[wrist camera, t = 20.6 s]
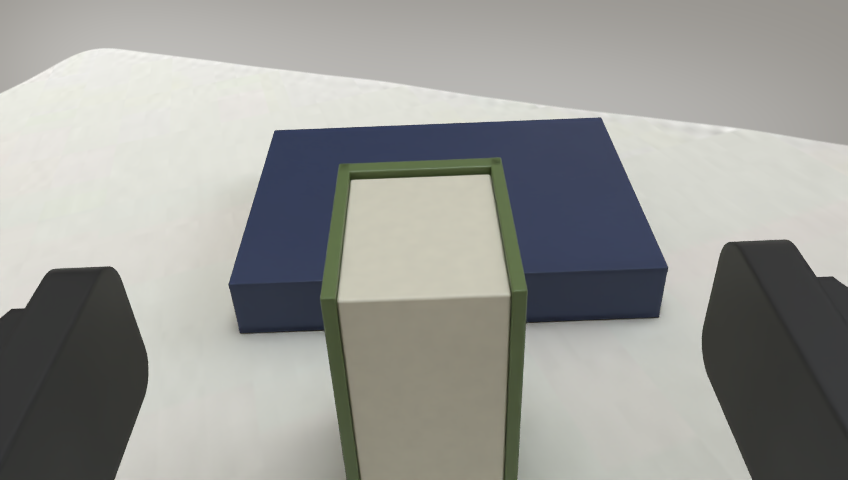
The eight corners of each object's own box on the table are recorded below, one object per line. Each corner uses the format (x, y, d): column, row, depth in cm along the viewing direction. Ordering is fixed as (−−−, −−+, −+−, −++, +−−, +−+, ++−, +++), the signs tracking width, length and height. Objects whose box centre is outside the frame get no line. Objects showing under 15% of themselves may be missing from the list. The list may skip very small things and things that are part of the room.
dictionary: (494, 404, 33) (501, 156, 26) (513, 556, 27) (527, 290, 20) (367, 409, 33) (338, 163, 26) (358, 562, 27) (319, 298, 20)
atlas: (596, 160, 49) (601, 117, 47) (659, 317, 37) (668, 267, 35) (281, 172, 49) (274, 130, 47) (239, 333, 37) (228, 284, 35)
